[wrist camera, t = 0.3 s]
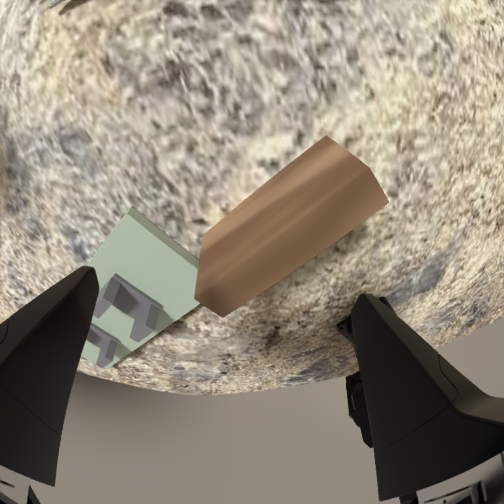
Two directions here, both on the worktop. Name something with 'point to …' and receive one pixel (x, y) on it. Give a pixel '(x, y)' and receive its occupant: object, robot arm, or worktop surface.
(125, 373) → the worktop surface
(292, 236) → the brown wooden block
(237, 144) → the worktop surface
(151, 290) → the hinge base
